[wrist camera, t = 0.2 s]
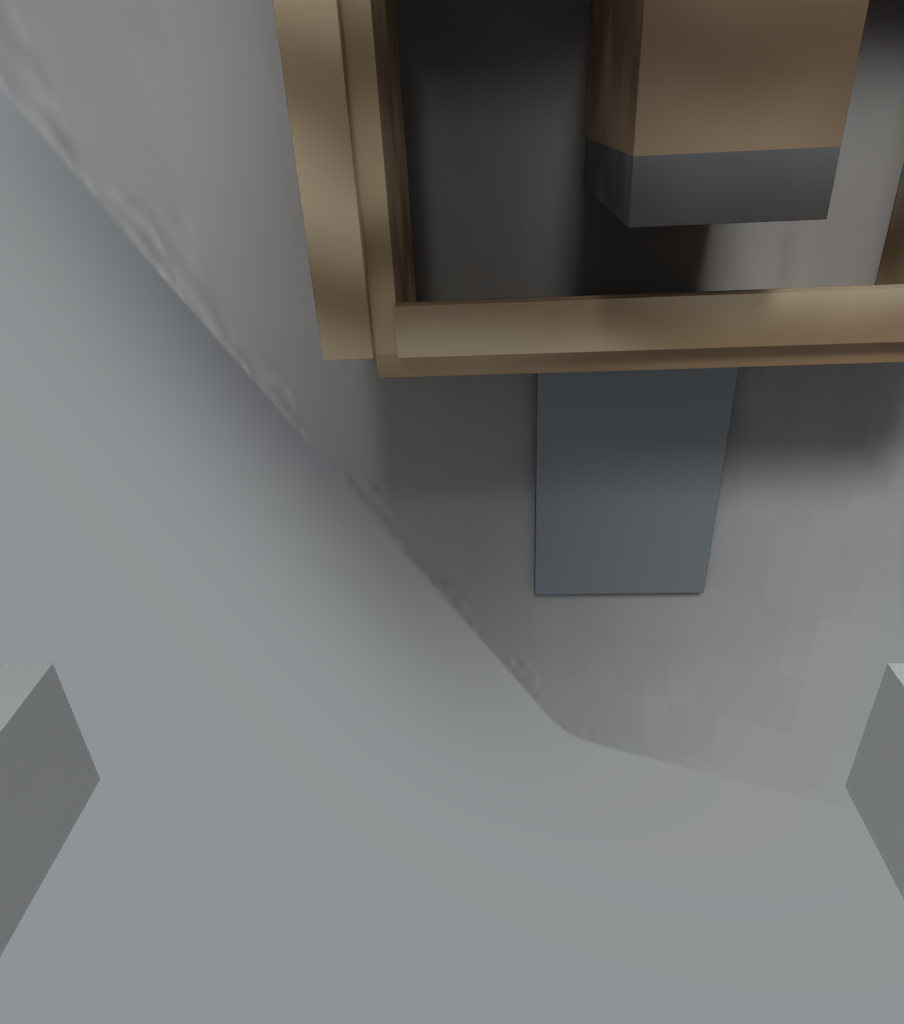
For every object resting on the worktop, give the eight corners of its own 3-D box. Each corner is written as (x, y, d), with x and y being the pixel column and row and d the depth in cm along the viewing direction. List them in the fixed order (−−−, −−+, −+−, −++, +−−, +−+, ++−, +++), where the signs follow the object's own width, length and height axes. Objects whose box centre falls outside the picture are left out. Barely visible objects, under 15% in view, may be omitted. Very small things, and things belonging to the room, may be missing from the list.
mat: (537, 349, 37) (538, 352, 36) (738, 342, 36) (741, 345, 36) (534, 589, 44) (535, 594, 44) (701, 587, 44) (703, 592, 43)
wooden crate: (290, -291, 26) (210, -450, 18) (1121, -363, 24) (1407, -570, 17) (359, 326, 37) (326, 384, 29) (934, 306, 35) (1055, 362, 27)
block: (595, -96, 28) (658, -209, 18) (753, -106, 28) (914, -229, 17) (583, 186, 33) (628, 227, 23) (718, 180, 33) (826, 218, 22)
